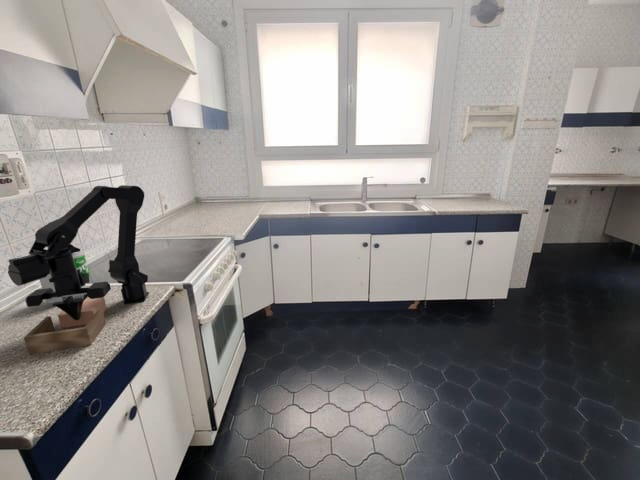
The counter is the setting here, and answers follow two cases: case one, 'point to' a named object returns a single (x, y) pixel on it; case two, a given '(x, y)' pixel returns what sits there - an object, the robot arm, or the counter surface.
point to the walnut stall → (63, 335)
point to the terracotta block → (83, 312)
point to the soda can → (80, 262)
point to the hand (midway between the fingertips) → (77, 319)
